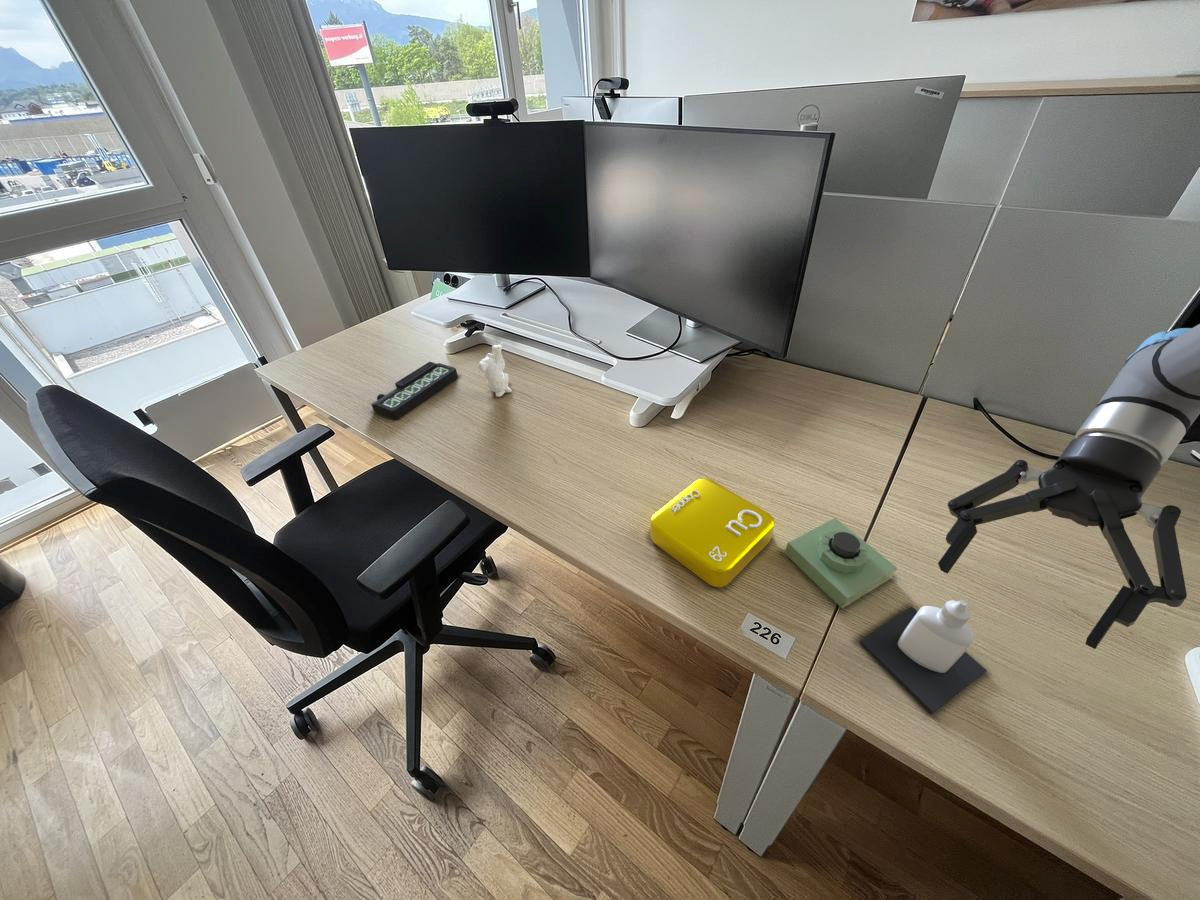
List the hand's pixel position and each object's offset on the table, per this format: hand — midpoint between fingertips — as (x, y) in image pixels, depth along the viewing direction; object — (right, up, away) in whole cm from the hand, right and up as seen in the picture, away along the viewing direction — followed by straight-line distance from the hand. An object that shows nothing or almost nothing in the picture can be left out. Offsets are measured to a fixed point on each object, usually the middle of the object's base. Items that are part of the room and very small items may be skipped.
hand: (1008, 602), depth 52 cm
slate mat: (-5, -9, +7) cm, 13 cm away
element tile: (-28, +3, +24) cm, 37 cm away
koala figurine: (-70, +31, +63) cm, 99 cm away
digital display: (-92, +31, +65) cm, 117 cm away
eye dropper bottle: (-5, -9, +7) cm, 13 cm away
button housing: (-10, 0, +19) cm, 21 cm away
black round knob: (-10, +3, +16) cm, 19 cm away
